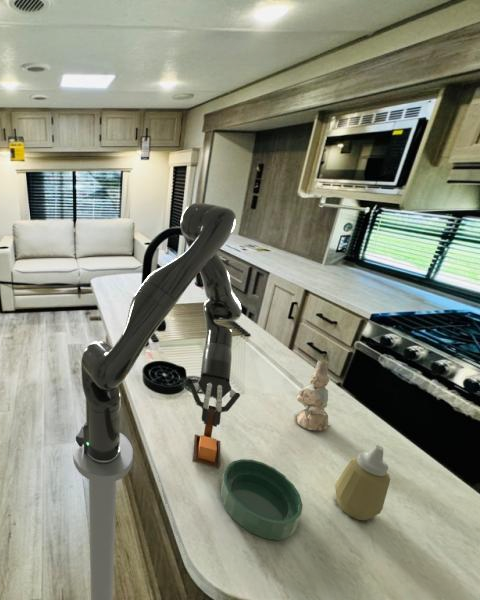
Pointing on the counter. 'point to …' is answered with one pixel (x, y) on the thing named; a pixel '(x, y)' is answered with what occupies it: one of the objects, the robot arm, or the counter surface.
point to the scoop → (208, 433)
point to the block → (207, 448)
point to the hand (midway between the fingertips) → (210, 424)
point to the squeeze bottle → (363, 485)
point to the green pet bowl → (261, 499)
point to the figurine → (315, 400)
